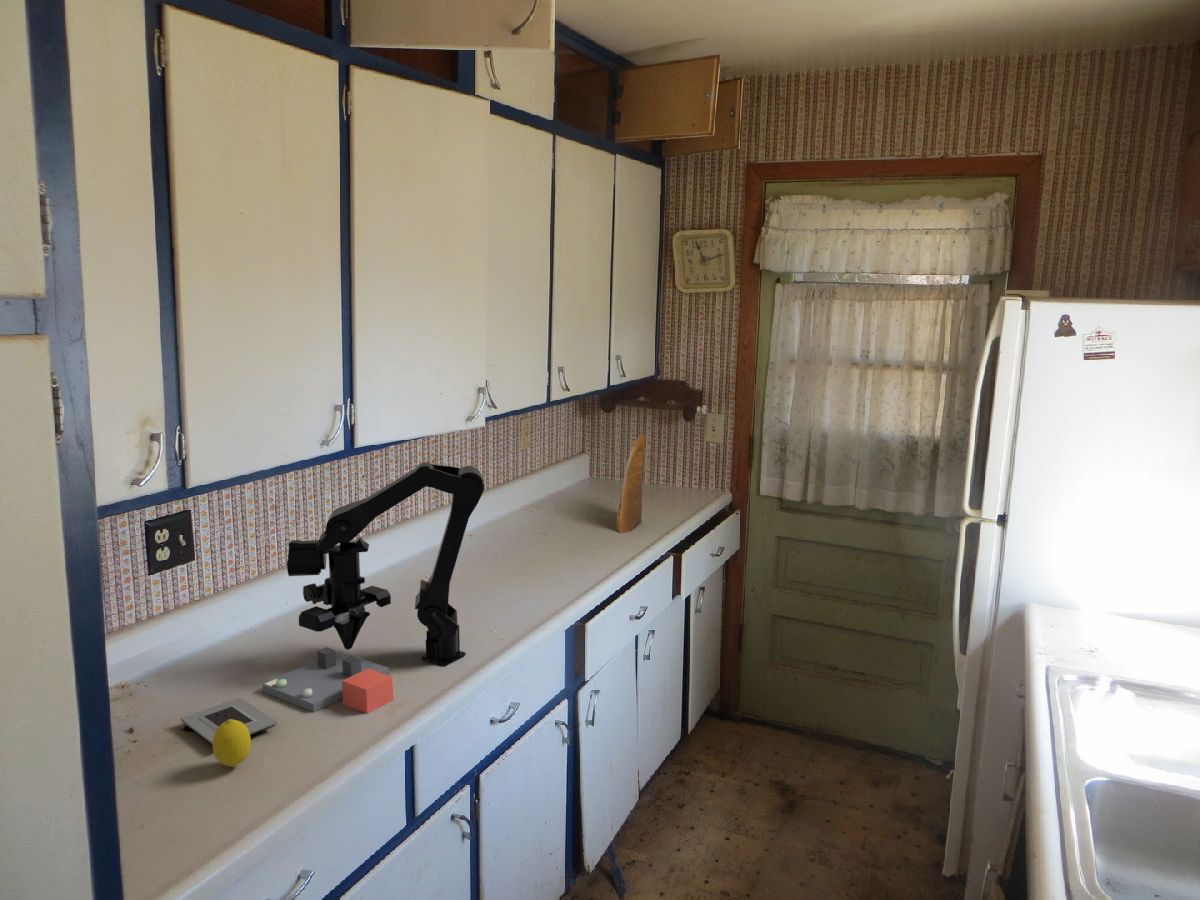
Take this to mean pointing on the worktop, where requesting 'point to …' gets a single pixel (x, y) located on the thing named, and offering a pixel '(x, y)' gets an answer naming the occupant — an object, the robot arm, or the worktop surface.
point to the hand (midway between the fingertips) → (348, 648)
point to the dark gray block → (326, 657)
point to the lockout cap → (367, 690)
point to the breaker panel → (315, 683)
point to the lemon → (231, 743)
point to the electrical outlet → (234, 710)
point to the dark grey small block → (351, 666)
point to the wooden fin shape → (632, 489)
